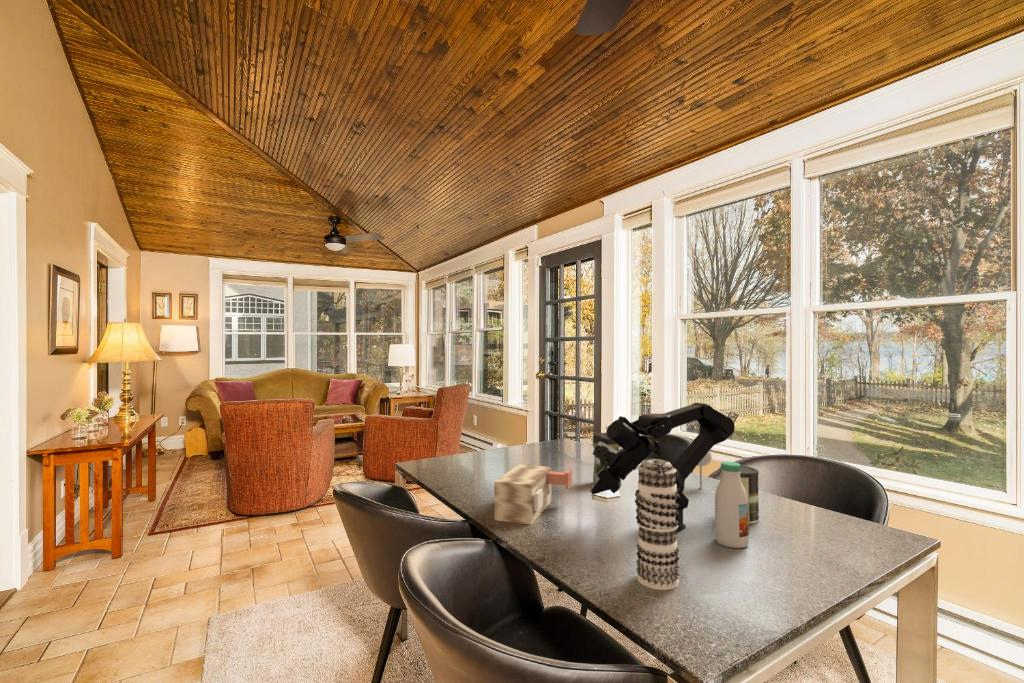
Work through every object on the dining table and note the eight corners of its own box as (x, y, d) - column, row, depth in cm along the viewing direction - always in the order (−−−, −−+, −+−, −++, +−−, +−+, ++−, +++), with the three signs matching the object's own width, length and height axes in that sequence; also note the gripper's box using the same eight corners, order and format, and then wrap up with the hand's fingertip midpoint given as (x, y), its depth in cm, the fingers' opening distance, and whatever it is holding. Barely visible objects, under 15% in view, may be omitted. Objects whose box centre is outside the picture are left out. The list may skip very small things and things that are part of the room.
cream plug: (542, 505, 138) (542, 489, 138) (538, 511, 133) (538, 493, 133) (504, 501, 142) (503, 485, 142) (498, 506, 137) (498, 489, 137)
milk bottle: (729, 550, 115) (728, 467, 115) (708, 538, 123) (707, 460, 123) (755, 547, 117) (755, 465, 118) (733, 535, 125) (732, 458, 125)
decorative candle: (687, 579, 101) (686, 460, 101) (669, 595, 94) (668, 469, 94) (647, 566, 107) (646, 454, 107) (627, 581, 100) (626, 462, 101)
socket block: (551, 501, 153) (551, 466, 153) (531, 524, 133) (531, 485, 133) (518, 497, 157) (518, 464, 157) (494, 520, 136) (494, 481, 136)
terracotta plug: (571, 484, 150) (571, 469, 150) (568, 489, 146) (568, 473, 146) (535, 481, 154) (535, 466, 154) (531, 485, 150) (530, 470, 150)
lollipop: (685, 486, 169) (685, 444, 169) (702, 484, 171) (702, 443, 171) (699, 492, 162) (698, 448, 162) (716, 490, 164) (716, 447, 165)
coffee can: (748, 511, 143) (747, 464, 143) (766, 524, 133) (766, 473, 133) (713, 511, 143) (713, 464, 143) (729, 524, 132) (729, 473, 133)
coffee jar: (612, 479, 178) (611, 430, 178) (624, 485, 171) (623, 433, 171) (589, 482, 175) (589, 431, 175) (601, 488, 167) (600, 435, 168)
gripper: (615, 427, 138) (578, 462, 142) (605, 439, 120) (563, 478, 124) (644, 456, 135) (605, 491, 139) (637, 472, 118) (593, 512, 121)
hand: (592, 492), depth 131 cm, fingers closed
